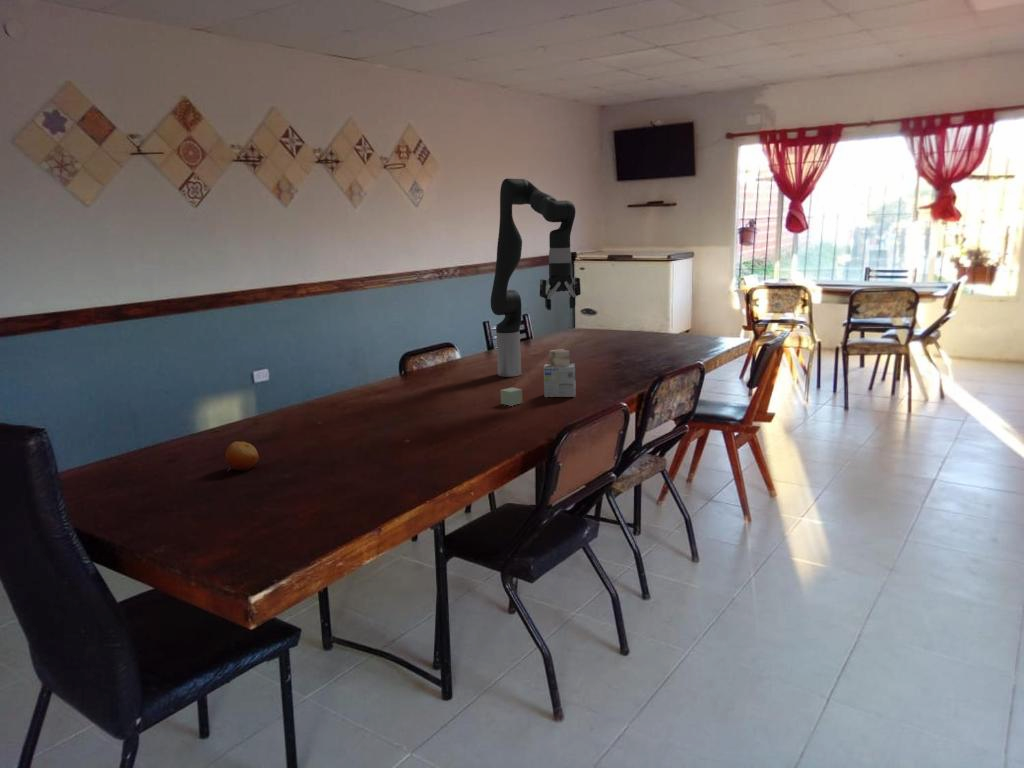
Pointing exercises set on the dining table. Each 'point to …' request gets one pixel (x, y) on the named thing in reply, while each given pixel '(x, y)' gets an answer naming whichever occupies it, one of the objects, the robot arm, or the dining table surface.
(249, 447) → the fruit
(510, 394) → the sage block
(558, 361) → the beech block
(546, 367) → the light bulb box
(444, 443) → the dining table surface
